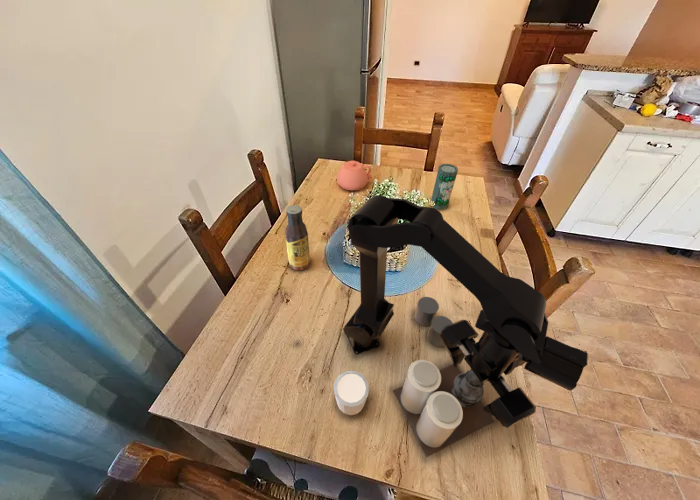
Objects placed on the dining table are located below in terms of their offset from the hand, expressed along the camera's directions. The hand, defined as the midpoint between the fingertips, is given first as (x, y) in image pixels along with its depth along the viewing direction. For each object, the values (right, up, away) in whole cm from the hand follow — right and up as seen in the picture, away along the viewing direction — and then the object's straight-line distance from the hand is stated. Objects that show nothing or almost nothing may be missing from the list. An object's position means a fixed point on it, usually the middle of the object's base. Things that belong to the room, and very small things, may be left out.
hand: (470, 386), depth 62 cm
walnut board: (-5, -5, +2) cm, 7 cm away
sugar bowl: (-22, +53, +62) cm, 85 cm away
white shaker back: (-11, -4, +3) cm, 11 cm away
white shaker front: (-8, -8, -2) cm, 11 cm away
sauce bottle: (-39, +23, +31) cm, 55 cm away
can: (+9, +44, +53) cm, 69 cm away
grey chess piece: (0, -3, +3) cm, 5 cm away
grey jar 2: (-3, +6, +13) cm, 15 cm away
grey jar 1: (-5, +10, +17) cm, 20 cm away
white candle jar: (-24, -4, +3) cm, 24 cm away
